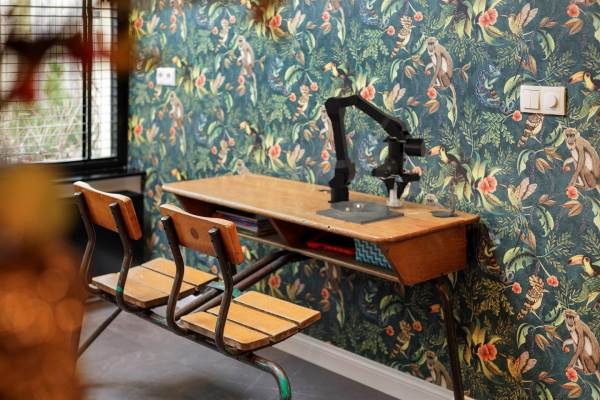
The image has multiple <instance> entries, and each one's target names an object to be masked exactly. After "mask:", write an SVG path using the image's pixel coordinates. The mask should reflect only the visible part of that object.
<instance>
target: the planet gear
mask: <svg viewBox="0 0 600 400" xmlns="http://www.w3.org/2000/svg"><path fill="white" fill-rule="evenodd" d="M386 205H388V206H390V207H402V206H403V200H402V199H401V200H400V199H397V188H396V189H395V188H394V189H391V190H390V197H389V199H386Z"/></svg>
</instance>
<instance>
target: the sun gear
mask: <svg viewBox="0 0 600 400" xmlns="http://www.w3.org/2000/svg"><path fill="white" fill-rule="evenodd" d="M353 212H367V204H366V203H361V202H359V203H353Z"/></svg>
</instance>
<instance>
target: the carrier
mask: <svg viewBox="0 0 600 400" xmlns="http://www.w3.org/2000/svg"><path fill="white" fill-rule="evenodd" d="M337 209H338V210H343V211H351V212H353V207H343V208H337ZM377 211H382V209H378V208H371V207H367V212H377ZM318 214H319V216H322V215H323V217H327V218H331V219H335V220H340V221H345V222H348V223H352V224H357V225H366V224H370V223H375V222H376V223H377V222H380V221H384V220H390V219H395V218H399V217H404V216H405V212H400V211H396V210H392V209H390V214H389V215H387V216H384V217H379V218H347V217H341V216H336V215H334V214H332V213H330V208H328V209H321V210H316V211H315V215H318Z"/></svg>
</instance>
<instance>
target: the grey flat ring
mask: <svg viewBox="0 0 600 400" xmlns="http://www.w3.org/2000/svg"><path fill="white" fill-rule="evenodd" d="M359 202H361V203H366V204H367V207H371V208H378V209H382V211H377V212H351V211H343V210H338V209H337V208H343V207H353V203H359ZM329 206H330V208H329V209H330V213H332V214H334V215H336V216H341V217H347V218H379V217H384V216H387V215H389V214H390V210H391V206H388V205H387V203H383V202H377V201H371V200H370V201H367V200H349V201H342V202H337V203H330V205H329Z"/></svg>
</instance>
